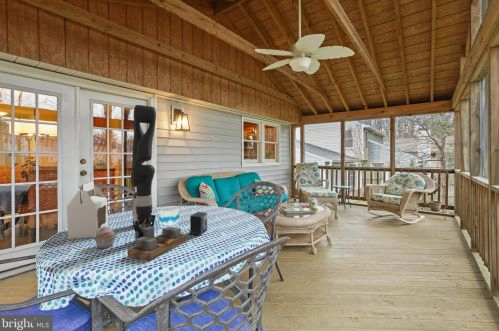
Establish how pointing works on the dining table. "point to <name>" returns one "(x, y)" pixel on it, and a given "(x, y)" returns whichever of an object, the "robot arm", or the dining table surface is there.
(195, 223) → the small box
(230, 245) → the dining table surface
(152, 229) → the block
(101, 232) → the cupcake
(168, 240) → the rack
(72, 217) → the gable box
